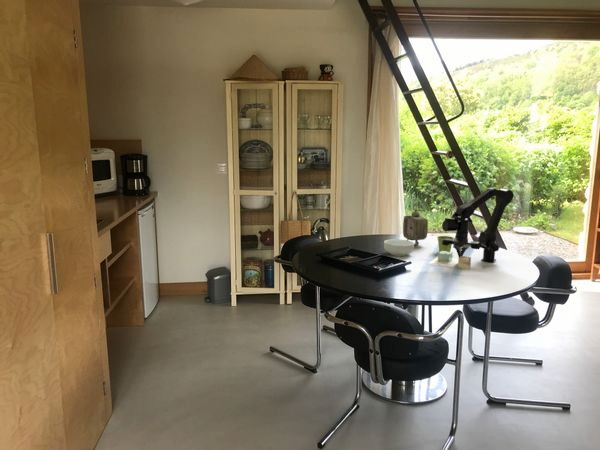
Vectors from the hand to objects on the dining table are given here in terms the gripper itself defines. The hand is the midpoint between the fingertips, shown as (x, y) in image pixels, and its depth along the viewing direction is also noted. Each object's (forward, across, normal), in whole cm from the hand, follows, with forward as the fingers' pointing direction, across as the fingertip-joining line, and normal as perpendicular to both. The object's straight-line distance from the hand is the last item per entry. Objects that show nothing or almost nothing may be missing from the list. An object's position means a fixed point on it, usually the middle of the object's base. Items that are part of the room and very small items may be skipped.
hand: (460, 259), depth 254 cm
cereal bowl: (+2, -34, -1) cm, 34 cm away
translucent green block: (+1, -8, 0) cm, 8 cm away
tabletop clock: (+2, -34, +28) cm, 44 cm away
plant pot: (+2, -13, +18) cm, 22 cm away
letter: (+2, -7, -3) cm, 8 cm away
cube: (+2, +4, -8) cm, 9 cm away
